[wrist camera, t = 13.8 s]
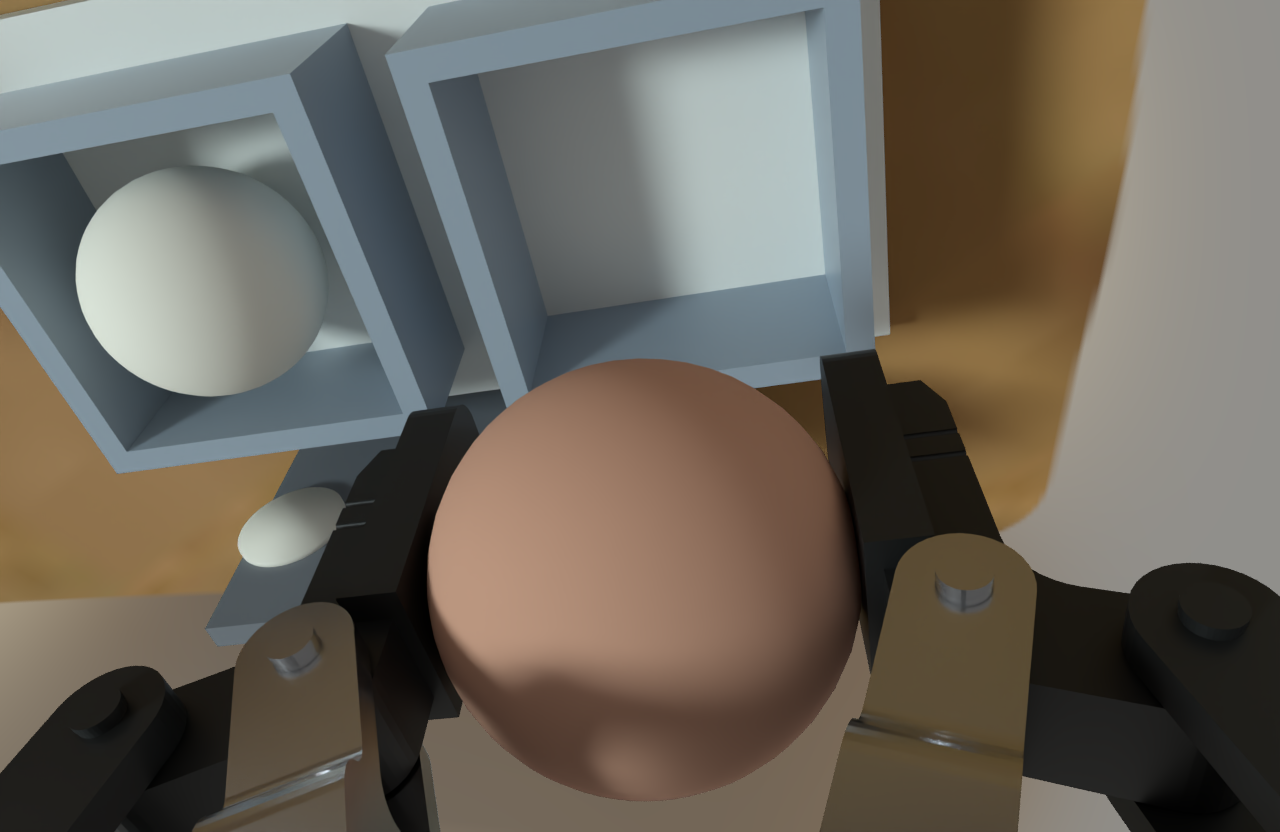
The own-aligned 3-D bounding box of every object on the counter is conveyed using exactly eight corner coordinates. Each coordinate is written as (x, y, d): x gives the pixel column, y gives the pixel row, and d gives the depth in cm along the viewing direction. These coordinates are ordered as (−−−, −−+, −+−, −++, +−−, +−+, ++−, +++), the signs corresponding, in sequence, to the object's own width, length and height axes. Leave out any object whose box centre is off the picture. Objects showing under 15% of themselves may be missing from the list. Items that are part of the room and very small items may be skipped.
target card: (308, 407, 26) (189, 626, 20) (744, 346, 24) (767, 564, 18) (318, 427, 27) (205, 647, 20) (747, 368, 25) (771, 589, 18)
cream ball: (106, 150, 21) (-33, 252, 17) (306, 113, 20) (209, 211, 16) (208, 331, 24) (110, 454, 20) (386, 306, 23) (320, 428, 19)
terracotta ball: (422, 311, 12) (285, 614, 8) (816, 251, 11) (897, 549, 7) (524, 580, 14) (465, 902, 10) (841, 546, 14) (906, 876, 10)
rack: (-53, 26, 20) (-202, 87, 17) (867, -174, 17) (913, -150, 14) (187, 417, 27) (114, 519, 23) (884, 318, 24) (919, 417, 20)
